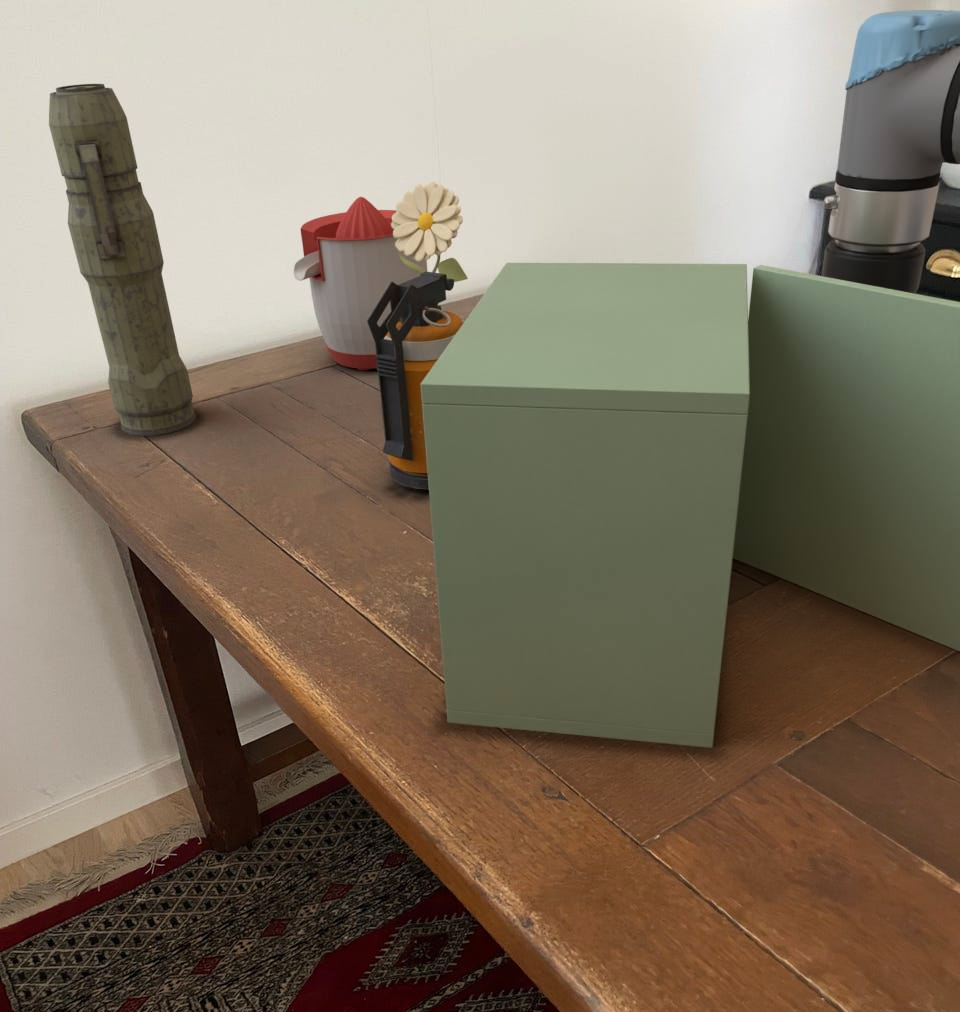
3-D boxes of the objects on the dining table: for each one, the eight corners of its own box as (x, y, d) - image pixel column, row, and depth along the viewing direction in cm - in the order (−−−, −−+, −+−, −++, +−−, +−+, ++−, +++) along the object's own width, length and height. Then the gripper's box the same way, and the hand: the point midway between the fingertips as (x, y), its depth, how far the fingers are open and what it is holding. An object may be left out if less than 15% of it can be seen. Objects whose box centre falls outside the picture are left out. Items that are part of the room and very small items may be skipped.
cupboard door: (777, 524, 92) (813, 246, 79) (1080, 637, 76) (1192, 309, 62) (724, 555, 88) (753, 267, 75) (1033, 682, 72) (1141, 341, 58)
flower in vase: (363, 408, 121) (337, 181, 107) (437, 383, 127) (421, 164, 113) (432, 438, 113) (414, 196, 99) (508, 409, 119) (501, 177, 105)
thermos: (192, 398, 127) (123, 77, 107) (201, 432, 117) (128, 87, 98) (118, 410, 124) (35, 85, 105) (122, 445, 115) (31, 96, 96)
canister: (495, 468, 105) (487, 268, 94) (431, 511, 98) (414, 300, 87) (425, 451, 110) (410, 258, 99) (359, 491, 102) (334, 288, 91)
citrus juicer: (289, 355, 139) (265, 197, 128) (405, 331, 145) (392, 179, 134) (331, 388, 127) (309, 218, 116) (455, 361, 134) (445, 197, 122)
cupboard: (718, 554, 89) (746, 263, 75) (712, 749, 68) (750, 393, 54) (514, 541, 92) (506, 262, 79) (447, 723, 71) (419, 383, 57)
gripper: (817, 211, 90) (786, 449, 103) (837, 277, 73) (796, 555, 85) (908, 210, 89) (865, 452, 101) (950, 278, 71) (891, 560, 84)
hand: (833, 499), depth 93 cm, fingers open, 9 cm apart
